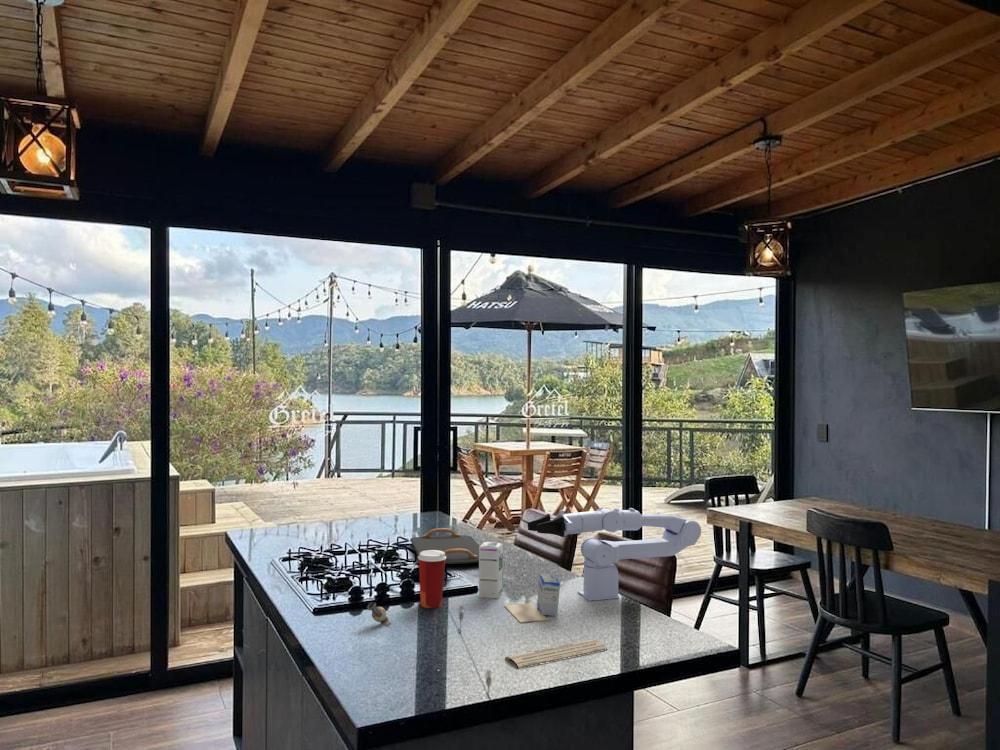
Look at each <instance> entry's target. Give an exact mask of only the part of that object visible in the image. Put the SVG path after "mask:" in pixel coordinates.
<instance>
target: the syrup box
mask: <svg viewBox="0 0 1000 750" xmlns="http://www.w3.org/2000/svg"><path fill="white" fill-rule="evenodd" d="M479 546H480V547H479V562H478V597H479V598H483V597H485V598H484V599H494V598H497V599H499V598H500V597H501V595H502V593H503V573H504V572H503V567H504V566H503V565H504V563H503V560H504V559H503V557H504V556H503V554H504V553H503V549H504V548H503V547H504V546H503V543H502V542H498V541H484V542H482V544H481V545H479ZM497 599H496V600H497Z"/></svg>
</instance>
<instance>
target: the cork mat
mask: <svg viewBox="0 0 1000 750" xmlns="http://www.w3.org/2000/svg"><path fill="white" fill-rule="evenodd" d="M504 608H505V609H506V610H507V611H508V612H509V613H510V614H511V615H512V616H513V617H514V618H515V619H516V620H517V621H518V623H520V624H524V623H525V622H527V623H535V622H534V621H538V622H547V621H549V618H547V616H546V615H541V613H540V611H539V609H537V607H535V606H534V605H533V604H532V603H531V602H529V603H520V604H509V605H508V604H507V605H504ZM525 624H526V623H525Z"/></svg>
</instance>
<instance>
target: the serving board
mask: <svg viewBox="0 0 1000 750" xmlns="http://www.w3.org/2000/svg"><path fill="white" fill-rule="evenodd" d="M438 532H439V533H441V532H446V533H450V534H435V535H432V534H434V533H438ZM410 543H411V545H412V547H413V548H414V551H415V553H416V556H417V557H418V556H419V554H420V552H422V551H426V550H439V551H443V552H444V553H445V556H446V559H445V565H457V564H458V565H459V564H463V565H464V564H473V563H479V547H480V546H481V545H479V543H478V542H476V540H475V539H474V538H473V537H472V535H471V536H470V535H463V534H461V535H460V533H456V532H455V531H454V530H452V529H451V528H448V527H439V528H438V527H437V528H432V529H430V530H428V532H427V533H426V534H422V536H414V537H410Z"/></svg>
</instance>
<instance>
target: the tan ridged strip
mask: <svg viewBox="0 0 1000 750" xmlns="http://www.w3.org/2000/svg"><path fill="white" fill-rule="evenodd" d="M605 649H607V650H608V647H607V646H606V645H605V644H604V643H603V642H602V641H601V640H598V639H595V638H594V639H589V640H588V639H587V640H583V641H578V642H573V643H568V644H564V645H559V646H554V647H549V648H544V649H538V650H534V651H528V652H524V653H518V654H514V655H509V656H505V657H504V660H507V661H509V660H512V661H514V663H515V664H516V665H517V667H518V670H520V668H522V669H525V668H524V667H526V668H529V667H528V666H531V665H536V664H540V663H545V664H547V663H546V662H550V663H552V662H551V661H554V662H556V661H555V660H559V659H563V658H568V657H572V656H578V655H582V656H584V655H583V654H587V653H592V652H596V653H598V652H597V651H601V650H605ZM601 652H602V651H601ZM592 654H593V653H592ZM587 655H588V654H587ZM578 657H579V656H578ZM568 659H569V658H568ZM559 661H560V660H559ZM540 665H541V664H540ZM536 666H537V665H536ZM531 667H532V666H531Z"/></svg>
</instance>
